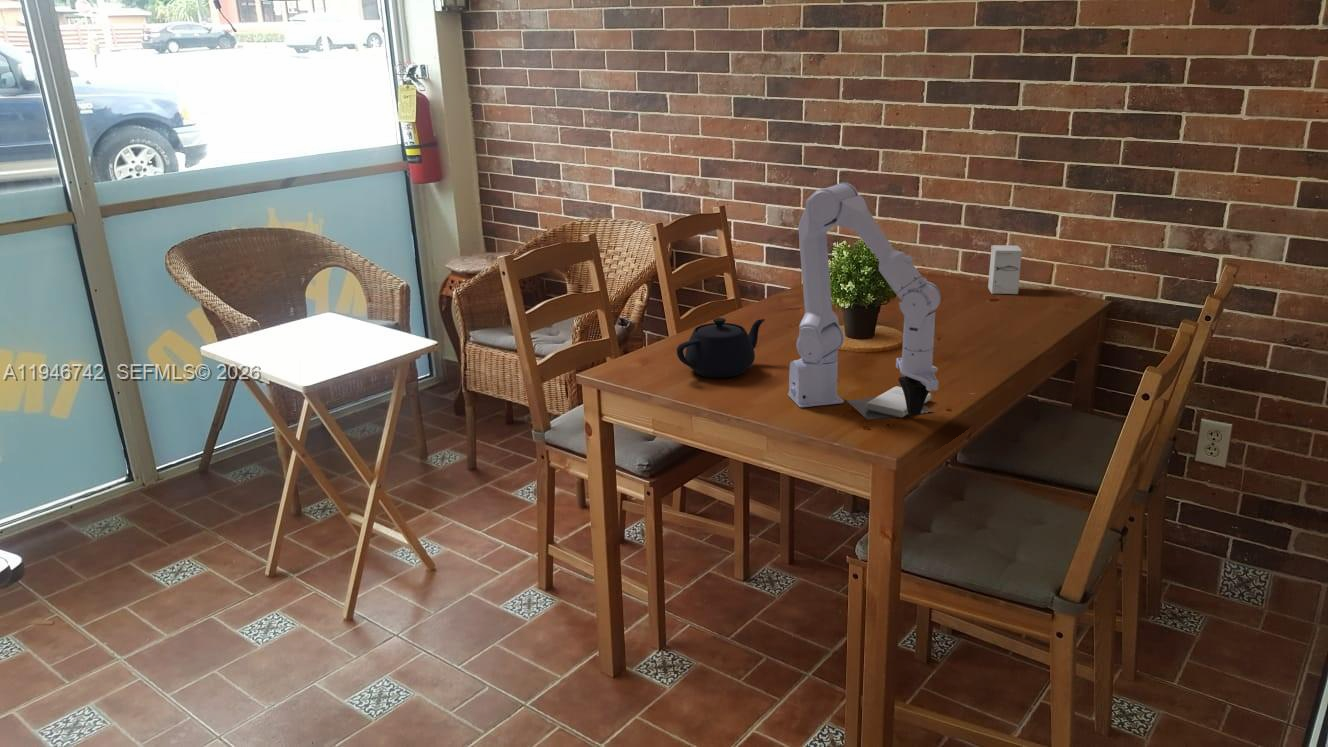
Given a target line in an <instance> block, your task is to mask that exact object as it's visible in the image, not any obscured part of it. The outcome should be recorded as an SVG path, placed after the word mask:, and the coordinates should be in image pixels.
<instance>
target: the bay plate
mask: <svg viewBox="0 0 1328 747" xmlns="http://www.w3.org/2000/svg"><path fill="white" fill-rule="evenodd" d="M876 397H877V396H875V397H869V398H868V397H867V398H857V399H849V400H846V402H847V403H848V404H849V405H850V406H851V407H853V408H854V410H855V411H857V412H858V413H859V414H860V415H861V416H862V417H864V418H865V419H866V420H868V421H871V420H878V419H888V418H895V417H896V416H891V415H887V414H883V413H878V412H874V411H870V410H867V409H866V403H867V402H869V401H871V400H872V399H874V398H876ZM926 408H927V409H926ZM928 409H929V410H931V409H930V408H929V407H928V406H926V405H925V404H924V405H923V408H922V410H923V411H921V414H920V415H925V414H924V413H926V414H929V413H928V412H932V411H933V410H932V411H929V410H928ZM924 411H925V412H924ZM926 411H927V412H926ZM907 415H908V416H911V415H910V414H907Z"/></svg>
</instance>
